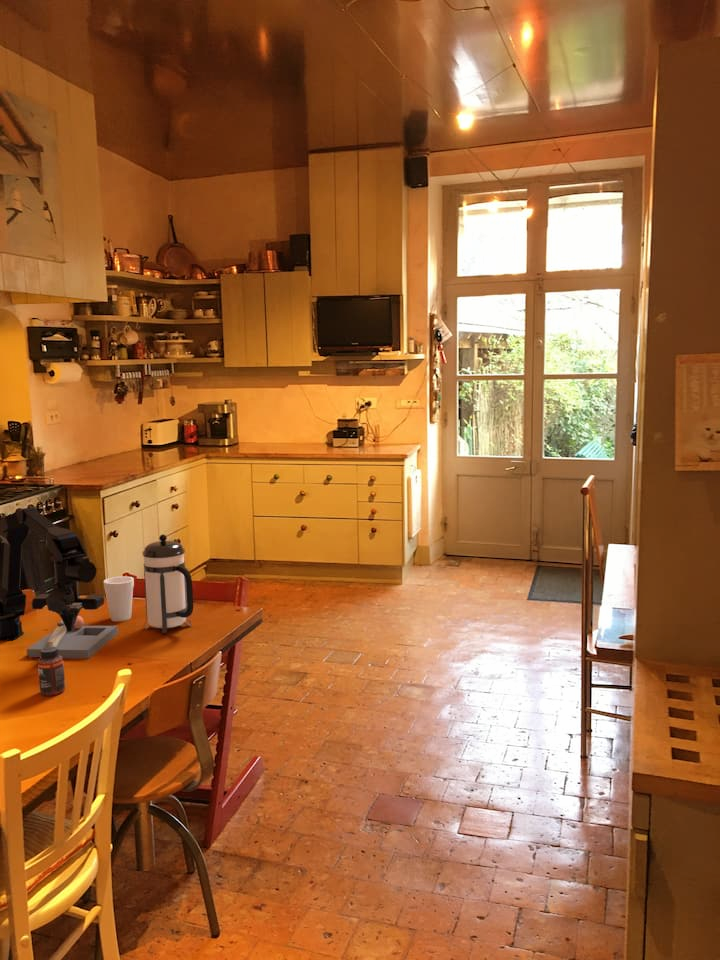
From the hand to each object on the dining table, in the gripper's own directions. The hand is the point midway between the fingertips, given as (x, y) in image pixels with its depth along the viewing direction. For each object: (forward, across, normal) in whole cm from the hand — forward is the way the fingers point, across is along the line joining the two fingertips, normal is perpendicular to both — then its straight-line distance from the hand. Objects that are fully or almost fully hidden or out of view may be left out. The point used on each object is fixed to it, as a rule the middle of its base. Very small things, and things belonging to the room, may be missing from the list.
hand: (70, 631), depth 216 cm
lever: (+5, -8, +9) cm, 13 cm away
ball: (+4, -7, +18) cm, 20 cm away
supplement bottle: (+8, +6, -23) cm, 25 cm away
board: (+8, -4, +11) cm, 14 cm away
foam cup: (+8, 0, +36) cm, 37 cm away
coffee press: (+8, +20, +27) cm, 35 cm away
